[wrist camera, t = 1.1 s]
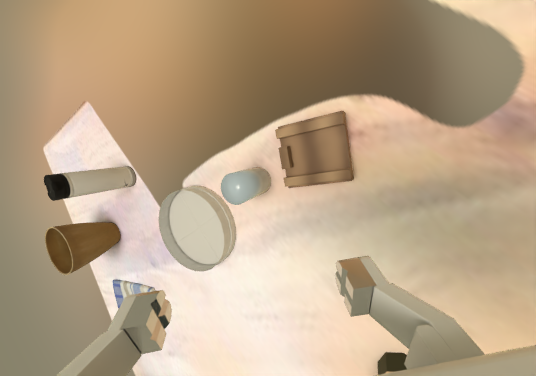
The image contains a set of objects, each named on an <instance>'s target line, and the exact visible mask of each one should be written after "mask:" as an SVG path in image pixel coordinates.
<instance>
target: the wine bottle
mask: <svg viewBox="0 0 536 376" xmlns="http://www.w3.org/2000/svg"><path fill="white" fill-rule="evenodd" d="M406 357H407V355H405V354H404V353H385V354H384V355H383V356H382V358H381V359H380V360H379V361H378V375H381V374H386V373H391V372H396V371H402V370H407V368H406V366H405V364H404V363H405V360H406Z"/></svg>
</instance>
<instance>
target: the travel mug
mask: <svg viewBox="0 0 536 376" xmlns="http://www.w3.org/2000/svg"><path fill="white" fill-rule="evenodd" d="M135 181H136V176H135V173H134V171H133V169H132V168H130V167H128V166H127V167H117V168H108V169H98V170H89V171H79V172H70V173H60V174H53V175H46V176H45V177H44V183H45V185H46V187H47V190H48V196H49V197H50V199H51V200H53V201H54V200H60V199H65V198H70V197H77V196H82V195H87V194H93V193H98V192H103V191H108V190H114V189H119V188H124V187H130V186H133V185H134V184H135Z"/></svg>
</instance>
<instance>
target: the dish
mask: <svg viewBox="0 0 536 376" xmlns="http://www.w3.org/2000/svg"><path fill="white" fill-rule="evenodd" d="M159 227H160V232H161V235H162V239H163V241H164V243H165V245H166V247H167V249H168V250H169V252H170V253H171V255H172V256H173V257H174V258H175V259H176V260H177V261H178V262H179V263H180V264H182V265H183V266H185V267H186V268H188V269H191V270H194V271H206V270H209V269H212V268H213V267H214V266H215V265H217V264H219V263H220V262H222V261H223V260H224V259H225V258H226V257H228V256H229V255H230V253H231V251H232V250H233V248H234V244H235V240H236V227H235V223H234V219H233V216H232V214H231V212H230V209H229V207H228V206H227V204H226V203H225V202H224V201H223V199H222V198H221V197H220V196H219V195H217V194H216V193H215V192H214V191H212V190H210V189H208V188H206V187H202V186H191V187H187V188H183V189H181V190H179V191H175V192H173V193H171V194H169V195H168V196H167V197H166V198H165V200H164V201H163V203H162V205H161V208H160V212H159Z"/></svg>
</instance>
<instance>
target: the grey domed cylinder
mask: <svg viewBox="0 0 536 376" xmlns="http://www.w3.org/2000/svg"><path fill="white" fill-rule="evenodd" d="M270 185H271V178H270V175H269V173H268V172H267V171H266V170H265V169H263V168H260V167H256V168H252V169H248V170H243V171H239V172H235V173H230V174H228V175H226V176H225V177H224V178H223V180H222V183H221V191H222V194H223V196H224V198H225V199H226V200H227V201H228V202H229V203H231V204H234V205H239V204H241V203H244V202H246V201H248V200H250V199H252V198H254V197H256V196H258V195H260V194H262V193H264V192H266V191H267V190H268V189H269V187H270Z"/></svg>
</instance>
